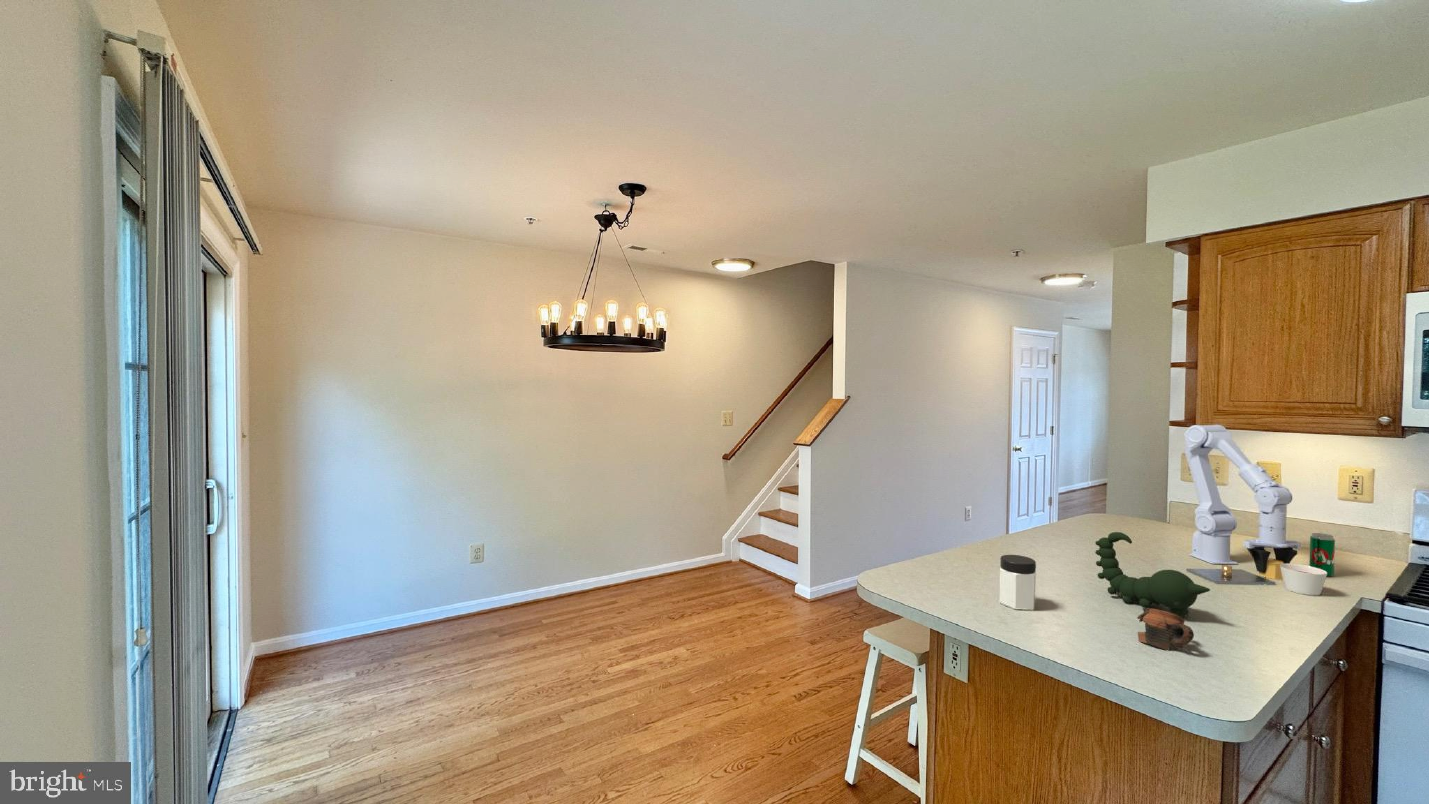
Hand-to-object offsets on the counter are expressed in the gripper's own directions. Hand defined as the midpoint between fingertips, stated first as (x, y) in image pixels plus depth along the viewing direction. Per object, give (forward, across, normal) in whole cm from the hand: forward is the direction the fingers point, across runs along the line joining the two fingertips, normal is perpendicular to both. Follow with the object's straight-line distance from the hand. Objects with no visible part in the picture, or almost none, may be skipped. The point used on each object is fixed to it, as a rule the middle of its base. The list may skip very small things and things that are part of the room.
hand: (1271, 572), depth 166 cm
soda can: (+2, +17, +3) cm, 17 cm away
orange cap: (+1, 0, 0) cm, 1 cm away
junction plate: (+1, -13, -2) cm, 13 cm away
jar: (+2, -85, -25) cm, 89 cm away
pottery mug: (+2, -63, -46) cm, 78 cm away
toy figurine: (+2, -52, -25) cm, 58 cm away
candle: (+2, -2, -12) cm, 12 cm away
